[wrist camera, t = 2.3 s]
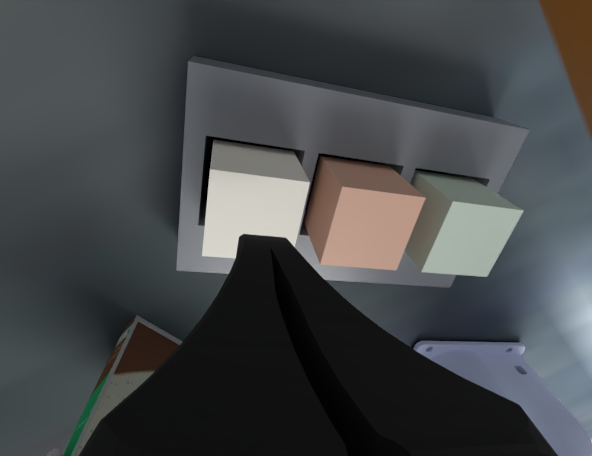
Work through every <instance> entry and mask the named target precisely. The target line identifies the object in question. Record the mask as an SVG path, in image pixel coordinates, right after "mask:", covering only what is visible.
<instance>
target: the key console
mask: <svg viewBox="0 0 592 456" xmlns="http://www.w3.org/2000/svg"><path fill="white" fill-rule="evenodd" d="M529 131H530V130H529V129H526V128H523V127H520V126H517V125H514V124H512V123H509V122H506V121H503V120H500V119H497V118H494V117H490V116H485V115H480V114H475V113H470V112H465V111H460V110H455V109H451V108H446V107H441V106H436V105H431V104H426V103H421V102H416V101H412V100H407V99H402V98H397V97H392V96H387V95H382V94H377V93H373V92H368V91H363V90H358V89H353V88H348V87H343V86H339V85H334V84H329V83H324V82H319V81H314V80H309V79H304V78H300V77H295V76H290V75H285V74H280V73H275V72H270V71H265V70H261V69H256V68H251V67H246V66H241V65H236V64H231V63H226V62H222V61H217V60H212V59H207V58H202V57H197V56H193V57H192V58H191V59H190V60H189V61H188V72H187V90H186V108H185V126H184V144H183V162H182V180H181V197H180V215H179V233H178V251H177V269H176V271H191V272H207V273H223V274H229V273H230V270H231V268H232V266H233V263H234V261H235V258H221V257H208V256H202V249H203V238H204V227H205V217H206V206H207V202H205V201H202V191H203V179H204V168H205V156H206V145H207V136H212V137H218V138H225V139H231V140H238V141H244V142H251V143H257V144H264V145H270V146H277V147H283V148H290V149H292V151H293V152H294V153H295V155H296V157H297V159H298V160H299V162H300V164H301V166H302V168H303V170H304V172H305V174H306V176H307V178H308V179H309V181H310V185H309V189H308V193H307V197H306V202H305V206H304V210H303V214H302V219H301V223H300V227H299V231H298V236H297V240H296V244H295V248H296V249H297V250H298V252H299V253H300V254H301V255H302V256H303V257H304V258H305V259H306V260H307V262H308V263H309V264H310V265H311V266H312V267H313V268H314V269H315V270H316V271H317V272H318V273H319V274H320V275H321V277H322V278H323V279H324V280H335V281H351V282H367V283H383V284H399V285H415V286H431V287H447V288H450V287H451V285H452V283H453V281H454V279H455V277H456V275H453V274H439V273H426V272H421V271H420V270H419V269H418V267H417V266H416V265H415V264H414V262H413V261H412V260H411V258H410V257H409V256H408V255H407V253H406V252H405V251H404V253H403V255H402V258H401V260H400V263H399V265H398V268H397V270H385V269H371V268H358V267H344V266H330V265H320V263H319V260H318V258H317V255H316V253H315V250H314V248H313V245H312V242H311V240H310V237H309V235H308V232H307V229H306V227H305V224H304V221H305V216H306V213H305V209H306V204H307V200H308V196H309V192H310V188H311V184H312V179H313V175H314V171H315V167H316V163H317V158H318V154H319V153H322V154H329V155H335V156H342V157H348V158H355V159H361V160H368V161H374V162H379V163H378V164H379V165H386V166H390V167H391V168H392V169H394V170H395V171H396V172H397V173H398V174H399V175H400V176H402V177H403V178H404V179H405V180H406V181H407V182H408V183H411V180H412V177H413V175H414V172H415V169H416V168H420V169H426V170H433V171H439V172H446V173H452V174H455V176H458V177H464V178H471V179H474V180H476V181H478V182H479V183H481V184H482V185H484V186H486V187H487V188H489V189H490V190H492V191H494V192H495V193H497V194H498V192H499V190H500V188H501V186H502V184H503V182H504V180H505V178H506V176H507V175H508V173H509V171H510V169H511V167H512V165H513V163H514V161H515V159H516V157H517V155H518V153H519V151H520V149H521V147H522V145H523V143H524V141H525V139H526V137H527V135H528V133H529Z"/></svg>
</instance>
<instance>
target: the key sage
mask: <svg viewBox="0 0 592 456" xmlns="http://www.w3.org/2000/svg"><path fill="white" fill-rule="evenodd" d="M410 184H411V185H412V186H413V187H414V188H415V189H417V190H418V191H419V192H420V193H421V194H422V195H423V196H425V197H426V199H425V201H424V204H423V206H422V209H421V211H420V213H419V216H418V218H417V221H416V223H415V226H414V228H413V231H412V233H411V236H410V238H409V240H408V243H407V245H406V248H405V250H404V251H405V252H406V253H407V255H408V256H409V257H410V258H411V260H412V261H413V262H414V264H415V265H416V266H417V267H418V269H419V270H420V271H421V272H426V273H439V274H453V275H467V276H480V277H487V276H488V274H489V273H490V271H491V269H492V267H493V265H494V264H495V262H496V260H497V258H498V256H499V255H500V253H501V251H502V249H503V247H504V246H505V244H506V242H507V240H508V239H509V237H510V235H511V233H512V231H513V230H514V228H515V226H516V224H517V222H518V221H519V219H520V217H521V215H522V213H523V212H524V210H522V209H521V208H519V207H517V206H516V205H514V204H513V203H511V202H510V201H508V200H506V199H505V198H503V197H502V196H500V195H498V194H497V193H495V192H494V191H492V190H490V189H489V188H487V187H486V186H484V185H482V184H481V183H479V182H478V181H476V180H474V179H471V178H464V177H458V176H451V175H445V174H438V173H432V172H425V171H418V170H415V172H414V175H413V177H412V180H411V183H410Z"/></svg>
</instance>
